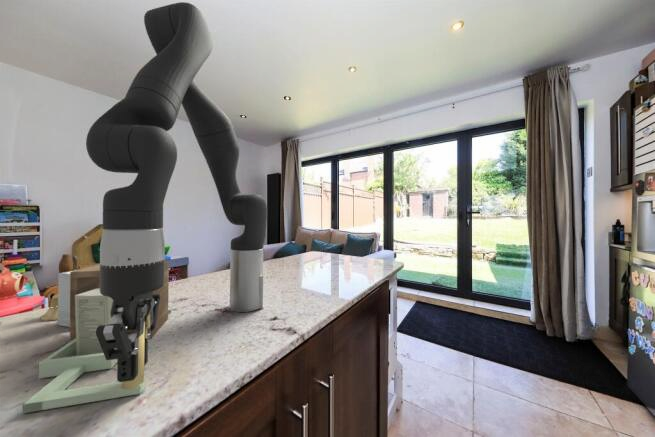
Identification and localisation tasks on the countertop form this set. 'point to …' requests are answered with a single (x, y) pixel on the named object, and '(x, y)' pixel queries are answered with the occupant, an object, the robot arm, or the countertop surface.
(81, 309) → the skincare box
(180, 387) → the countertop surface
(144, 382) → the green zigzag lever
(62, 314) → the supplement box
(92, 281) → the brown hollow box
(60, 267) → the hand bell
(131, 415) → the countertop surface
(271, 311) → the countertop surface
